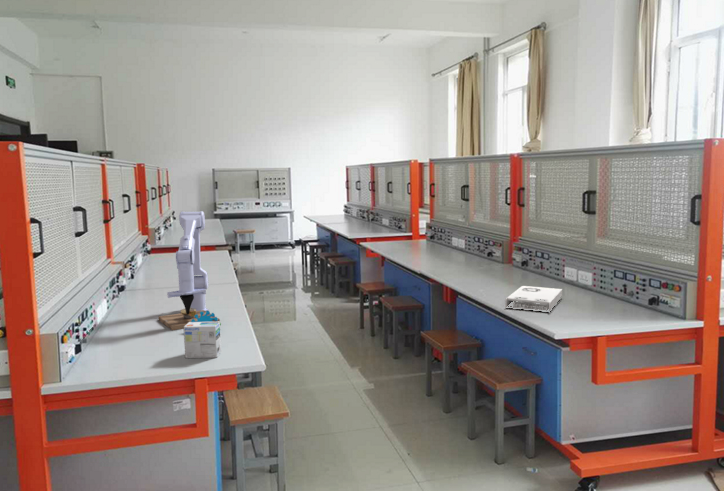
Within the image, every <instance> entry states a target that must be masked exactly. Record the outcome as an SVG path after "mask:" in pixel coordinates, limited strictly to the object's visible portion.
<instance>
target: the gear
mask: <svg viewBox="0 0 724 491" xmlns="http://www.w3.org/2000/svg"><path fill="white" fill-rule="evenodd" d="M200 314H201V316H200V318H198V314H196V315H195V318H196V319H197V321H195V320H194V319H192V321H191V322H213V321H212V320H215V321H217V320H218V318H219V317H218V316H216V315H215V313H214V312H212V313H210V310H209V311H206V314H205V315H204V316H202V315H203V314H204V312H200ZM209 314H211V315H209ZM207 315H209V316H207ZM214 316H215V318H210V317H214ZM221 325H222V323H221V322H220V326H221Z"/></svg>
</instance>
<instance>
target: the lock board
mask: <svg viewBox="0 0 724 491" xmlns="http://www.w3.org/2000/svg"><path fill="white" fill-rule="evenodd" d="M200 312H204V314H203V315H202V316H204V315H205V314H206V311H204V310H200V311H196V314H198V318H200V316H201V314H200ZM211 314H212V313H210V314H209V315H211ZM209 315H207V316H209ZM215 317H216V315H215V316H214V317H210V318H215ZM157 318H158V321H159V322H160V323H162V324H163V325H164V326H165V327H167V328H168V329H170V330H171V331H176V330H184V326H185V325H186V324H187V323H189V322H191V321H192V319H194V320H195V321H197V319H196V318H195V316H194V317H191V316H189V315H184V314H181V312H180V313H176V314H175V313H174V314H167V315H161V316H158V317H157ZM217 318H218V320H217V321H220V318H219V317H217ZM212 321H213V322H217V321H215V320H212ZM220 322H221V321H220Z"/></svg>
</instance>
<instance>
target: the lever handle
mask: <svg viewBox="0 0 724 491" xmlns="http://www.w3.org/2000/svg"><path fill="white" fill-rule="evenodd" d="M180 313H181V314H184V315H189V316H191V317H194V316H195V315H196V309H194V308H190V311H189V314H186V310H185V308H183V309H182V308H181V309H180Z"/></svg>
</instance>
